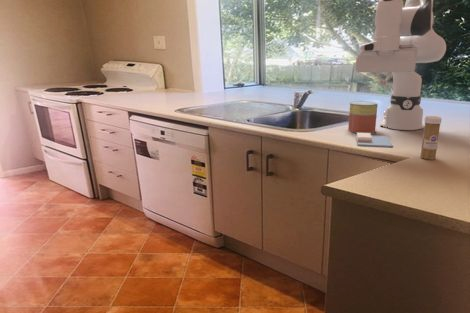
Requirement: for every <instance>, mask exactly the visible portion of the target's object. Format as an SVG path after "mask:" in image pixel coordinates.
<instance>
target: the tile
mask: <svg viewBox="0 0 470 313" xmlns="http://www.w3.org/2000/svg"><path fill="white" fill-rule="evenodd" d="M356 135H357V140H356V142H357V141H358V142H372V136H371V135H372V133H356Z"/></svg>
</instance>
